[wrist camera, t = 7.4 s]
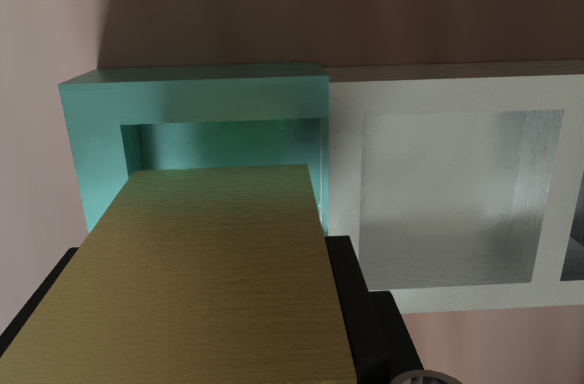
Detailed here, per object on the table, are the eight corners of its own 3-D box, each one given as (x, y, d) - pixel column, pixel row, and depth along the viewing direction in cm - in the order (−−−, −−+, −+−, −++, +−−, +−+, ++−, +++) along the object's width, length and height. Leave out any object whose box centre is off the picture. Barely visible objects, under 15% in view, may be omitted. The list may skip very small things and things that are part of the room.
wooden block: (307, 163, 13) (356, 378, 6) (309, 304, 14) (348, 598, 7) (134, 170, 12) (-30, 400, 6) (157, 312, 14) (55, 619, 7)
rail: (752, 48, 17) (855, 58, 14) (685, 255, 20) (758, 299, 17) (96, 68, 16) (57, 84, 13) (132, 282, 19) (108, 333, 16)
